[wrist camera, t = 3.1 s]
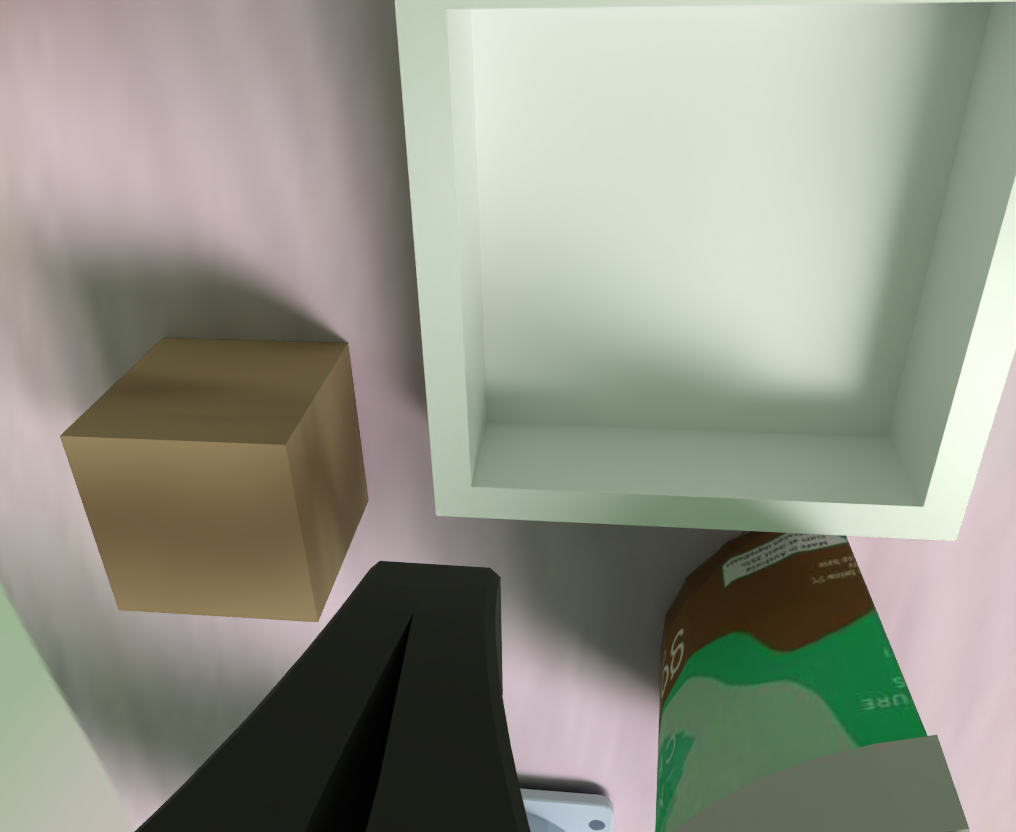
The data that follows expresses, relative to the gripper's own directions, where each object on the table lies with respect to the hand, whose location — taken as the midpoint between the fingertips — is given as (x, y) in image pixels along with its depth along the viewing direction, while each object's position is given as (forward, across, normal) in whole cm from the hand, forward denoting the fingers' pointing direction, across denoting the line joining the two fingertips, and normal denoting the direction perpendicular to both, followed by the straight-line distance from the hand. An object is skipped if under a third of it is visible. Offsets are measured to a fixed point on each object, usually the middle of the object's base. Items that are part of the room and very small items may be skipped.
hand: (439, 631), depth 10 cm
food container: (+11, -6, +11) cm, 16 cm away
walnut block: (+11, +6, +4) cm, 13 cm away
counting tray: (+10, -4, -1) cm, 11 cm away
